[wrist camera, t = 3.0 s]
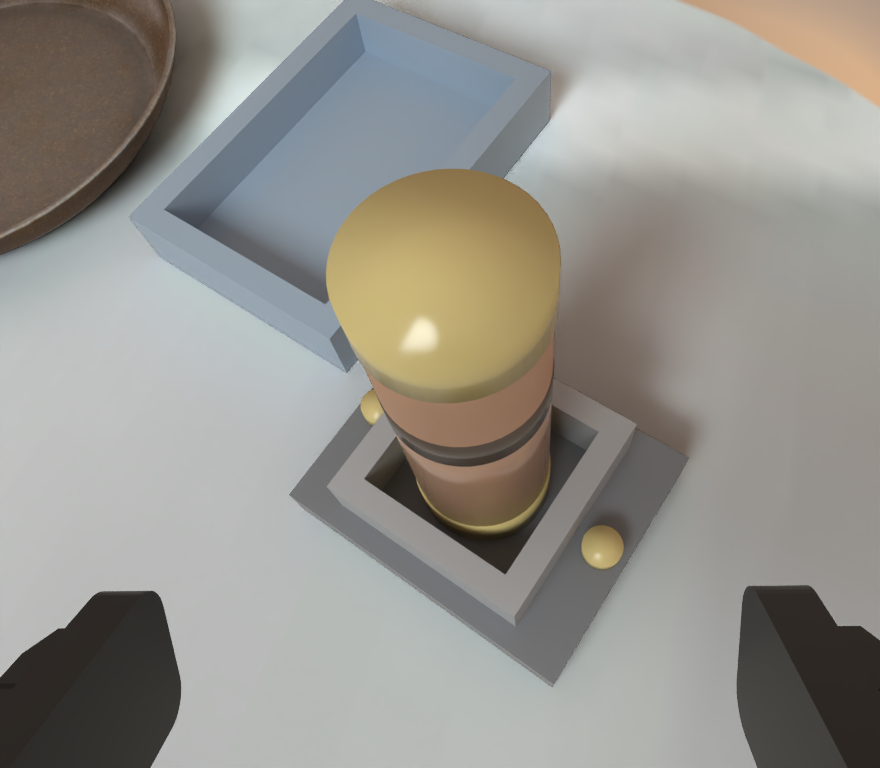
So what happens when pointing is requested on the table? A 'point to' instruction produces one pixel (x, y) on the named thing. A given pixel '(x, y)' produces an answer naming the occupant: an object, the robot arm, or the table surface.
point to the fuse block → (514, 557)
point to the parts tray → (336, 157)
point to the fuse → (457, 337)
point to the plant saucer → (75, 103)
